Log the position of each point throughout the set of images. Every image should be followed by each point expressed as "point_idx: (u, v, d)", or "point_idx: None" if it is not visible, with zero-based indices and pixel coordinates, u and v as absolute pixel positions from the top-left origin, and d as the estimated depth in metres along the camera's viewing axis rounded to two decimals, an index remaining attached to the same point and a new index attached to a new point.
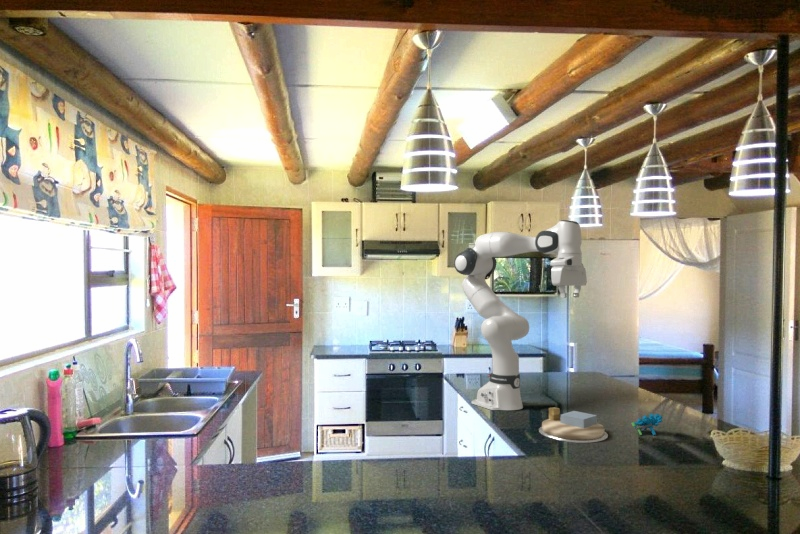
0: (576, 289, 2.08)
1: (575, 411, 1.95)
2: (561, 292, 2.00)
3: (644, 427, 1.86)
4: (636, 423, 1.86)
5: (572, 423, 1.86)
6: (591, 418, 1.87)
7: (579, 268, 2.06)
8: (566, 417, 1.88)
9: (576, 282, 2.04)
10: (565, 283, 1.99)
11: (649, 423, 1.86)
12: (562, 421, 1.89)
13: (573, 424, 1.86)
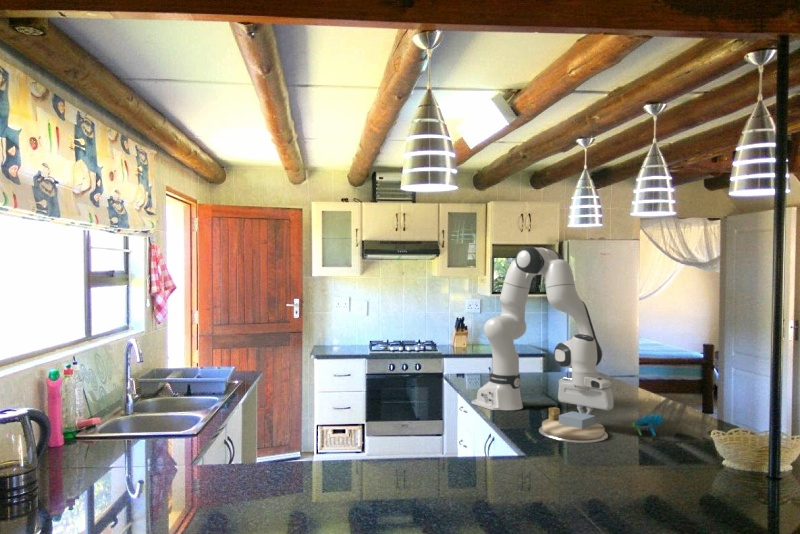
0: (580, 409, 1.93)
1: (573, 412, 1.94)
2: (589, 412, 1.91)
3: (644, 427, 1.85)
4: (636, 423, 1.86)
5: (570, 424, 1.85)
6: (589, 419, 1.86)
7: None
8: (564, 418, 1.87)
9: None
10: None
11: (649, 423, 1.85)
12: (560, 422, 1.88)
13: (572, 425, 1.85)
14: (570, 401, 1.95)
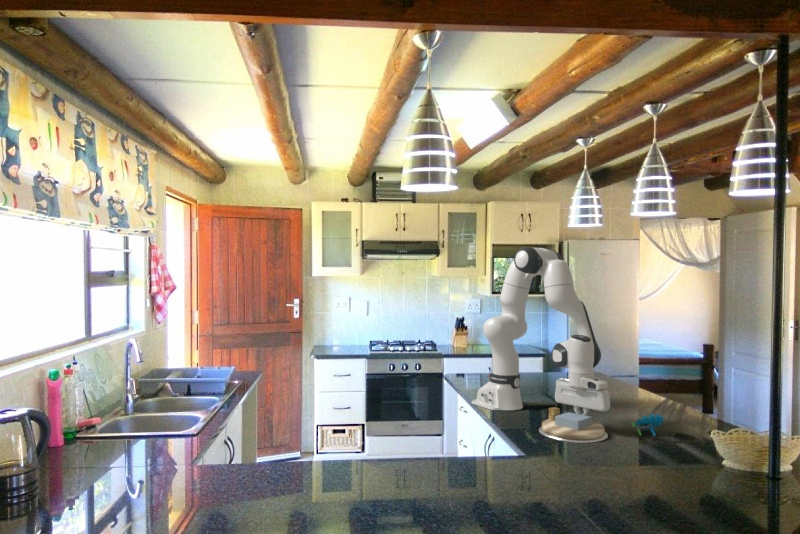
0: (577, 410, 1.92)
1: (570, 413, 1.92)
2: (586, 414, 1.90)
3: (644, 427, 1.85)
4: (636, 423, 1.86)
5: (566, 425, 1.84)
6: (586, 420, 1.84)
7: None
8: (560, 419, 1.86)
9: None
10: None
11: (649, 424, 1.85)
12: (556, 423, 1.87)
13: (567, 426, 1.84)
14: (567, 402, 1.93)
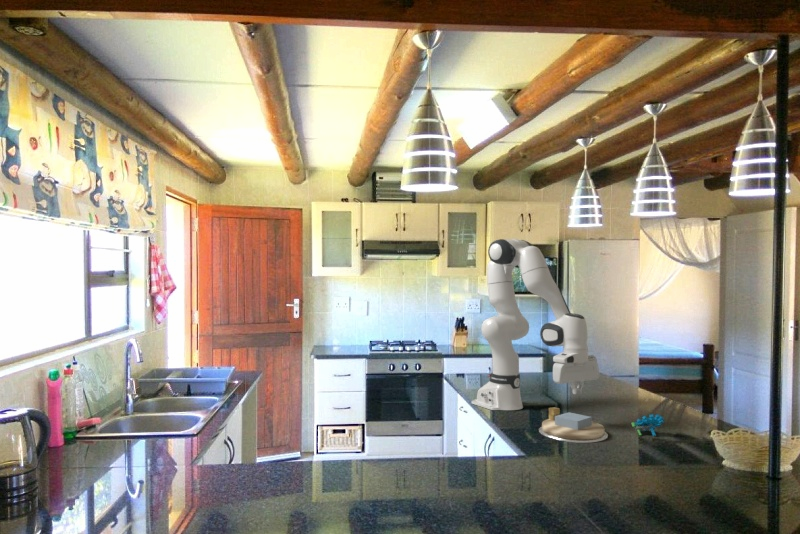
0: (579, 384, 2.01)
1: (570, 413, 1.92)
2: (573, 388, 1.99)
3: (644, 428, 1.85)
4: (636, 423, 1.86)
5: (566, 425, 1.84)
6: (585, 420, 1.84)
7: (587, 363, 2.00)
8: (560, 419, 1.86)
9: (583, 378, 1.99)
10: (567, 381, 1.95)
11: (650, 424, 1.85)
12: (556, 423, 1.87)
13: (567, 426, 1.84)
14: None
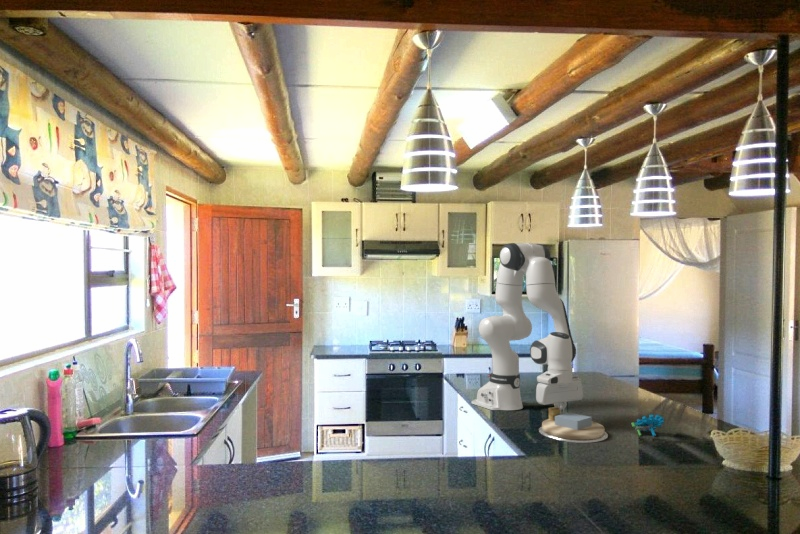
0: (562, 405, 1.97)
1: (570, 413, 1.92)
2: None
3: (644, 428, 1.85)
4: (636, 423, 1.86)
5: (566, 425, 1.84)
6: (585, 420, 1.84)
7: (572, 383, 1.97)
8: (560, 419, 1.86)
9: (567, 398, 1.96)
10: (550, 401, 1.92)
11: (650, 424, 1.85)
12: (556, 423, 1.87)
13: (567, 426, 1.84)
14: None
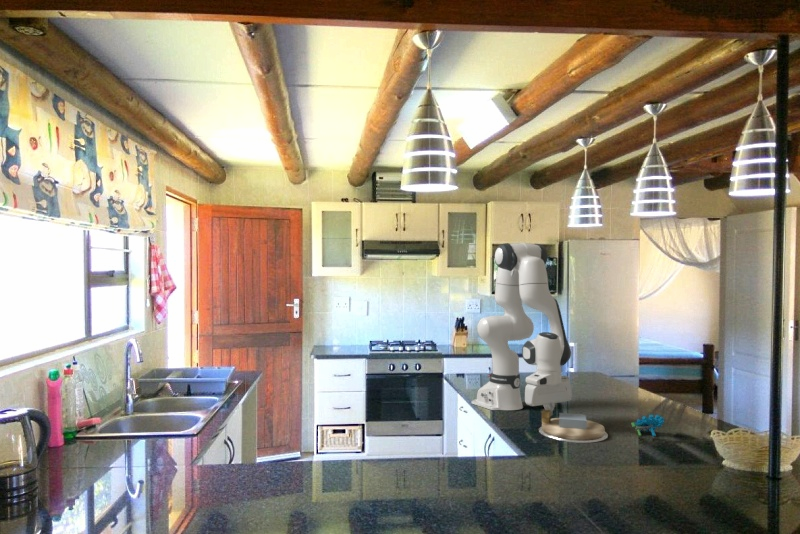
0: (550, 406, 1.94)
1: (562, 413, 1.92)
2: (546, 409, 1.93)
3: (644, 428, 1.85)
4: (636, 423, 1.86)
5: (573, 426, 1.83)
6: (585, 418, 1.87)
7: (560, 384, 1.94)
8: (566, 420, 1.84)
9: (556, 399, 1.93)
10: (539, 403, 1.89)
11: (650, 424, 1.85)
12: (561, 425, 1.84)
13: (574, 427, 1.83)
14: None
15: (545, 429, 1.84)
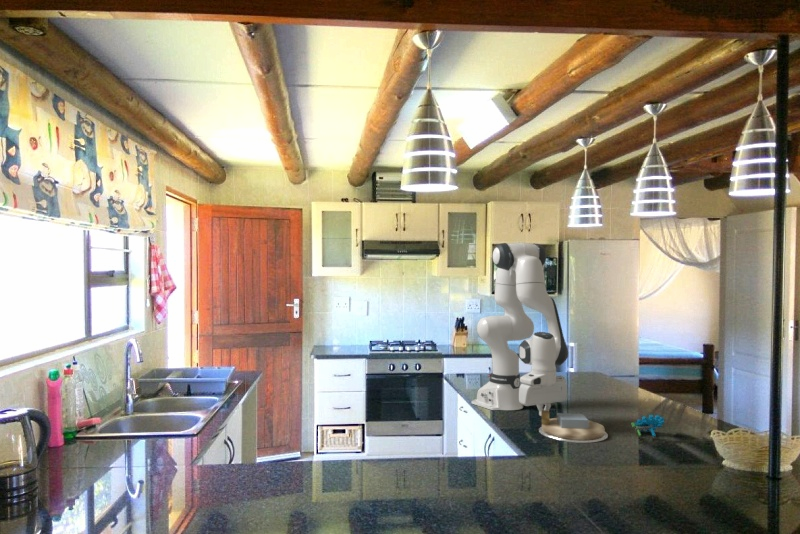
0: (546, 406, 1.94)
1: (560, 413, 1.92)
2: (539, 409, 1.93)
3: (644, 428, 1.85)
4: (636, 424, 1.86)
5: (575, 426, 1.83)
6: None
7: (556, 384, 1.94)
8: (568, 421, 1.83)
9: (551, 399, 1.93)
10: (533, 403, 1.89)
11: (650, 424, 1.85)
12: (563, 426, 1.83)
13: (576, 427, 1.83)
14: None
15: (548, 430, 1.83)
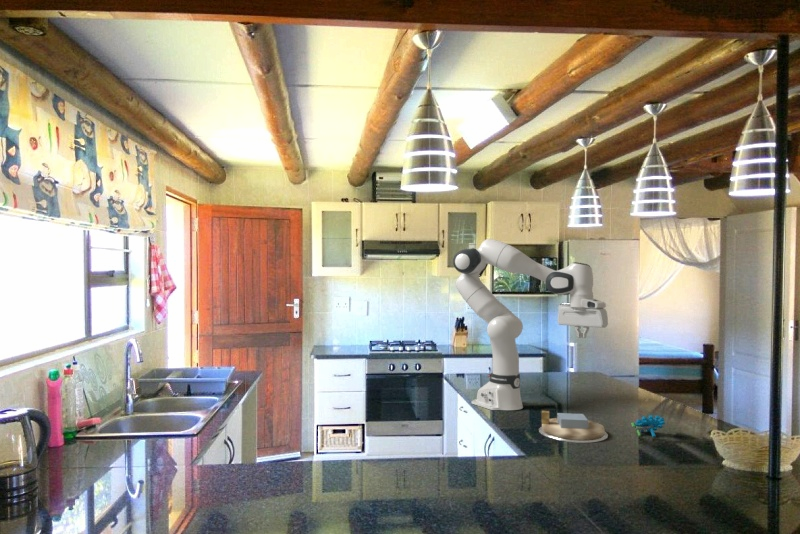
0: (578, 329, 2.12)
1: (560, 413, 1.92)
2: (586, 332, 2.10)
3: (644, 428, 1.84)
4: (636, 424, 1.86)
5: (575, 426, 1.83)
6: None
7: None
8: (568, 421, 1.83)
9: None
10: None
11: (650, 424, 1.84)
12: (562, 426, 1.83)
13: (576, 427, 1.83)
14: (568, 323, 2.13)
15: (548, 430, 1.83)
